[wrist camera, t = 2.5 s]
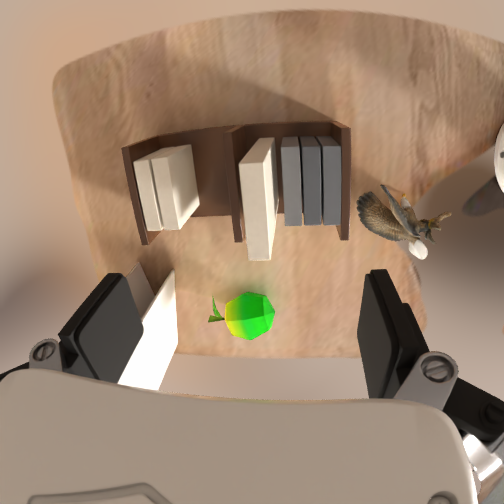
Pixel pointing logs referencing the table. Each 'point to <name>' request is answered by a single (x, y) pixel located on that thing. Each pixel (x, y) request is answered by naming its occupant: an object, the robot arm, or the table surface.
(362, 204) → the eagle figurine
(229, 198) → the book rack
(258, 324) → the apple
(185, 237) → the table surface
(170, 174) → the white books
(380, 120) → the table surface
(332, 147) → the grey books
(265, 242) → the white book
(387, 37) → the table surface
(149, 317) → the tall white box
